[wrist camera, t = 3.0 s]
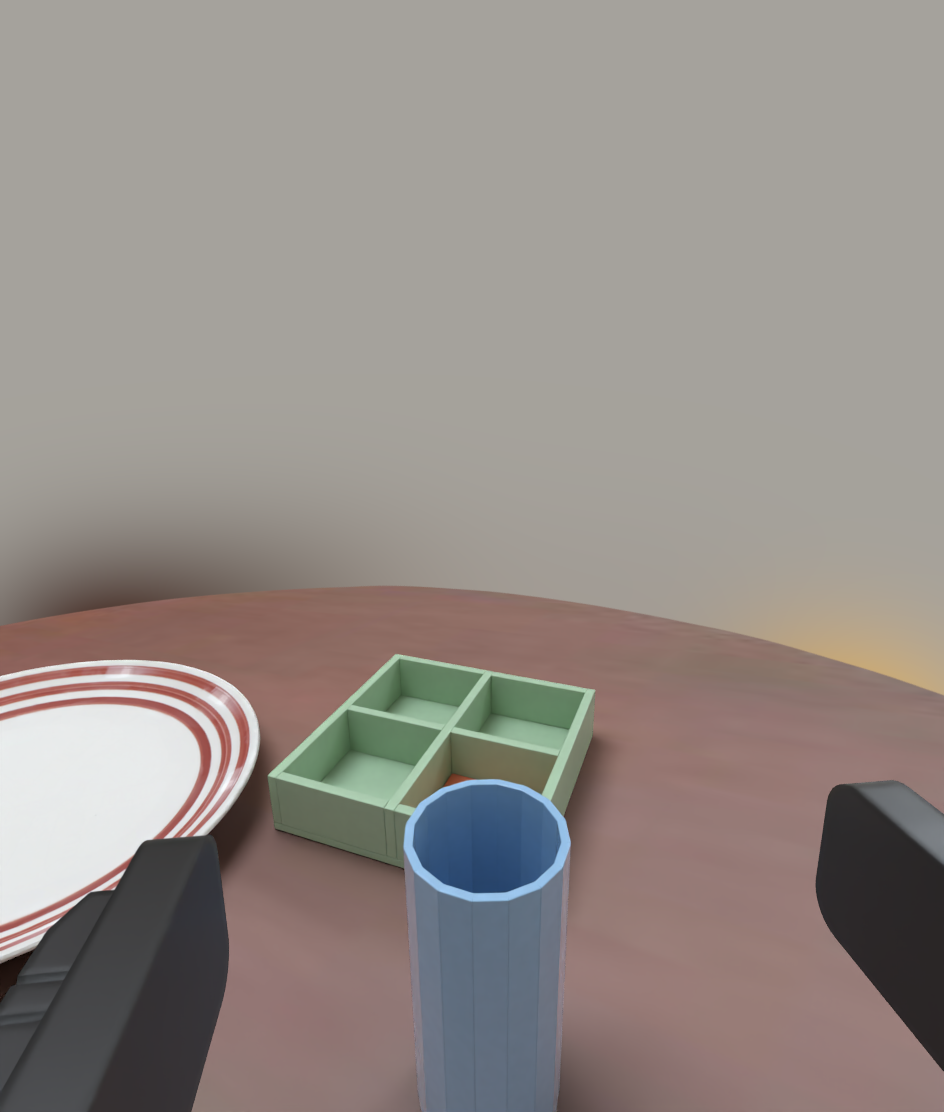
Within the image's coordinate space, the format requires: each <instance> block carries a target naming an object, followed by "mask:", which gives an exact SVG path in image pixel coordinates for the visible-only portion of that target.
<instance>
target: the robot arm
mask: <svg viewBox="0 0 944 1112" xmlns="http://www.w3.org/2000/svg"><path fill="white" fill-rule="evenodd" d="M816 894H817V900H818V904H819V907H820V910H821V913H822V915H823V918H824V920H825V922H826V924H827V926H828V928H829V929H830V931H831V932H832V934H833V935H834V936H835V938H836V939H837V940H838V942H839V943H840V944H841V945H842V946H843V948H844V949H845V950H846V951H847V953H848V954H849V955H850V956H851V958H852V959H853V960H854V961H855V963H856V964H857V965H858V966H859V967H860V969H861V970H862V971H863V972H864V974H865V975H866V976H867V977H868V979H869V980H870V981H871V982H872V984H873V985H874V986H875V987H876V988H877V990H878V991H879V992H880V993H881V995H882V996H883V997H884V998H885V1000H886V1001H887V1002H888V1003H889V1005H890V1006H891V1007H892V1008H893V1010H894V1011H895V1012H896V1013H897V1014H898V1016H899V1017H900V1018H901V1019H902V1021H903V1022H904V1023H905V1024H906V1026H907V1027H908V1028H909V1029H910V1031H911V1032H912V1033H913V1034H914V1035H915V1037H916V1038H917V1039H918V1040H919V1042H920V1043H921V1044H922V1045H923V1047H924V1048H925V1049H926V1050H927V1052H928V1053H929V1054H930V1055H931V1056H932V1058H933V1059H934V1060H935V1061H936V1063H937V1064H938V1065H939V1066H940V1068H941V1069H942V1070H943V1071H944V814H943V813H941V812H940V811H939V810H938V809H936V808H935V807H934V806H932V805H931V804H930V803H928V802H927V801H926V800H925V799H923V798H922V797H921V796H919V795H918V794H917V793H915V792H914V791H913V790H912V789H910V788H909V787H907V786H906V785H904V784H903V783H900V782H898V781H894V780H889V781H877V782H865V783H853V784H840V785H837V786H835V787H834V788H833V789H832V790H831V792H830V794H829V796H828V800H827V805H826V812H825V819H824V826H823V833H822V840H821V847H820V854H819V861H818V868H817V875H816ZM228 961H229V939H228V930H227V922H226V914H225V906H224V898H223V890H222V882H221V874H220V866H219V858H218V851H217V845H216V842H215V839H214V838H213V836H212V835H201V836H189V837H177V838H165V839H153V840H146V841H144V842H143V843H142V844H141V845H140V846H139V848H138V849H137V851H136V852H135V854H134V856H133V858H132V860H131V861H130V863H129V865H128V867H127V868H126V870H125V872H124V874H123V876H122V877H121V879H120V881H119V883H118V884H117V886H116V888H115V890H105V891H94V892H90V893H88V894H87V895H86V896H85V897H84V898H83V899H82V900H81V901H79V902H78V903H77V904H76V905H75V906H74V907H73V908H72V909H70V910H69V911H68V912H67V913H66V914H65V915H64V916H63V917H62V918H60V919H59V920H58V921H57V922H56V923H55V924H54V925H53V926H51V927H50V928H49V929H48V930H47V931H46V933H45V934H44V936H43V937H42V939H41V941H40V942H39V944H38V945H37V947H36V948H35V950H34V951H33V953H32V954H31V956H30V958H29V959H28V961H27V962H26V964H25V965H24V967H23V968H22V970H21V971H20V973H19V975H18V976H17V977H18V979H17V983H16V985H13V986H11V987H10V988H9V990H8V992H7V993H6V995H5V996H4V998H3V999H2V1001H1V1002H0V1112H191V1110H192V1107H193V1103H194V1100H195V1096H196V1093H197V1089H198V1086H199V1082H200V1079H201V1075H202V1071H203V1068H204V1064H205V1061H206V1057H207V1054H208V1050H209V1047H210V1043H211V1040H212V1036H213V1033H214V1029H215V1026H216V1022H217V1018H218V1015H219V1011H220V1008H221V1004H222V1001H223V997H224V992H225V987H226V981H227V973H228Z"/></svg>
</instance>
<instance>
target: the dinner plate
mask: <svg viewBox="0 0 944 1112" xmlns="http://www.w3.org/2000/svg"><path fill="white" fill-rule="evenodd" d="M259 746H260V730H259V724H258V720H257V717H256V715H255V712H254V710H253V708H252V706H251V705H250V703H249V702H248V700H247V699H246V698H245V696H244V695H243V694H242V693H241V692H239V691H238V690H237V689H236V688H235V687H234V686H232V685H231V684H230V683H228V682H226V681H224V680H223V679H221V678H219V677H217V676H215V675H213V674H210V673H208V672H205V671H202V670H199V669H196V668H192V667H188V666H184V665H179V664H174V663H167V662H158V661H145V660H106V661H92V662H79V663H71V664H63V665H55V666H49V667H43V668H37V669H31V670H26V671H21V672H17V673H12V674H8V675H3V676H0V963H2V962H5V961H7V960H10V959H12V958H14V957H17V956H19V955H22V954H24V953H26V952H29V951H31V950H33V949H35V948H36V947H37V945H38V944H39V942H40V941H41V939H42V937H43V936H44V934H45V933H46V931H47V930H48V929H49V928H50V927H51V926H53V925H54V924H55V923H56V922H57V921H58V920H59V919H60V918H62V917H63V916H64V915H65V914H66V913H67V912H68V911H69V910H70V909H72V908H73V907H74V906H75V905H76V904H77V903H78V902H79V901H81V900H82V899H83V898H84V897H85V896H86V895H87V894H88V893H90V892H94V891H105V890H115V888H116V886H117V884H118V883H119V881H120V879H121V877H122V876H123V874H124V872H125V870H126V868H127V867H128V865H129V863H130V861H131V860H132V858H133V856H134V854H135V852H136V851H137V849H138V848H139V846H140V845H141V844H142V843H143V842H144V841H146V840H153V839H165V838H177V837H189V836H201V835H207V834H208V833H209V832H210V831H211V830H212V829H213V828H214V827H215V826H216V825H217V824H218V823H219V822H220V820H221V819H222V818H223V817H224V816H225V815H226V813H227V812H228V811H229V810H230V808H231V807H232V806H233V804H234V803H235V801H236V800H237V799H238V797H239V795H240V794H241V792H242V791H243V789H244V787H245V786H246V784H247V782H248V780H249V778H250V776H251V774H252V771H253V769H254V766H255V763H256V760H257V757H258V752H259Z"/></svg>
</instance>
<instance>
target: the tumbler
mask: <svg viewBox="0 0 944 1112" xmlns="http://www.w3.org/2000/svg"><path fill="white" fill-rule="evenodd" d="M570 850H571V841H570V837H569V832H568V828H567V823H566V820H565V818H564V817H563V816H562V815H561V813H560V812H559V811H558V810H557V808H556V807H555V806H554V805H553V803H552V802H551V801H550V800H549V799H548V798H546V797H544V796H542V795H541V794H539V793H537V792H536V791H534V790H532V789H530V788H529V787H527V786H524V785H520V784H516V783H512V782H508V781H504V780H500V779H482V780H467V781H463V782H460V783H457V784H453V785H450V786H447V787H443V788H441V789H439V790H438V791H436V792H435V793H434V794H432V795H431V796H429V797H428V798H426V799H425V800H423V801H422V802H420V803H419V805H418V806H417V808H416V809H415V811H414V812H413V814H412V815H411V817H410V818H409V820H408V821H407V822H406V825H405V834H404V843H403V854H404V870H405V887H406V903H407V920H408V936H409V953H410V969H411V986H412V1003H413V1019H414V1036H415V1052H416V1069H417V1085H418V1096H419V1100H420V1108H421V1112H556V1110H557V1100H558V1094H559V1087H560V1065H561V1044H562V1022H563V1001H564V979H565V958H566V936H567V914H568V893H569V871H570Z"/></svg>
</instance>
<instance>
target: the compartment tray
mask: <svg viewBox="0 0 944 1112" xmlns="http://www.w3.org/2000/svg"><path fill="white" fill-rule="evenodd" d="M594 703H595V690H592V689H586V688H581V687H575V686H570V685H564V684H558V683H553V682H547V681H542V680H536V679H531V678H525V677H520V676H514V675H509V674H503V673H498V672H492V671H486V670H482V669H476V668H471V667H465V666H459V665H454V664H448V663H443V662H437V661H432V660H426V659H421V658H415V657H410V656H404V655H403V656H402V655H398V654H395V655H394V656H393V657H392V658H391V659H390V660H389V661H388V662H387V663H386V664H385V665H384V666H383V667H382V668H381V669H380V670H378V671H377V672H376V673H375V674H374V675H373V676H372V677H371V678H370V679H369V680H368V681H367V682H366V683H365V684H364V685H363V686H362V687H361V688H359V689H358V690H357V691H356V692H355V693H354V694H353V695H352V696H351V697H350V698H349V699H348V700H347V701H346V702H345V703H344V704H343V705H341V706H340V707H339V708H338V709H337V710H336V711H335V712H334V713H333V714H332V715H331V716H330V717H329V718H328V719H327V720H326V721H325V722H324V723H322V724H321V725H320V726H319V727H318V728H317V729H316V730H315V731H314V732H313V733H312V734H311V735H310V736H309V737H308V738H307V739H306V740H305V741H303V742H302V743H301V744H300V745H299V746H298V747H297V748H296V749H295V750H294V751H293V752H292V753H291V754H290V755H289V756H288V757H287V758H285V759H284V760H283V761H282V762H281V763H280V764H279V765H278V766H277V767H276V768H275V769H274V770H273V771H272V772H271V773H270V774H269V775H268V776H267V777H268V784H269V791H270V798H271V805H272V812H273V819H274V827H275V829H278V830H282V831H285V832H288V833H291V834H294V835H298V836H301V837H304V838H307V839H311V840H314V841H317V842H320V843H323V844H327V845H330V846H333V847H336V848H340V849H343V850H346V851H349V852H353V853H356V854H359V855H362V856H365V857H369V858H372V859H375V860H378V861H382V862H385V863H388V864H391V865H395V866H398V867H401V868H404V854H403V843H404V834H405V825H406V822H407V821H408V820H409V818H410V817H411V815H412V814H413V812H414V811H415V809H416V808H417V806H418V805H419V803H420V802H422V801H423V800H425V799H426V798H428V797H429V796H431V795H432V794H434V793H435V792H436V791H438V790H439V789H441V788H443V787H447V786H450V785H453V784H457V783H460V782H463V781H467V780H482V779H500V780H504V781H508V782H512V783H516V784H520V785H524V786H527V787H529V788H530V789H532V790H534V791H536V792H537V793H539V794H541V795H542V796H544V797H546V798H548V799H549V800H550V801H551V802H552V803H553V805H554V806H555V807H556V808H557V810H558V811H559V812H560V813H561V815H562V816H564V813H565V811H566V808H567V805H568V802H569V800H570V797H571V794H572V791H573V789H574V786H575V783H576V780H577V777H578V775H579V772H580V769H581V766H582V764H583V761H584V758H585V755H586V753H587V750H588V747H589V744H590V742H591V739H592V736H593V721H594Z"/></svg>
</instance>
